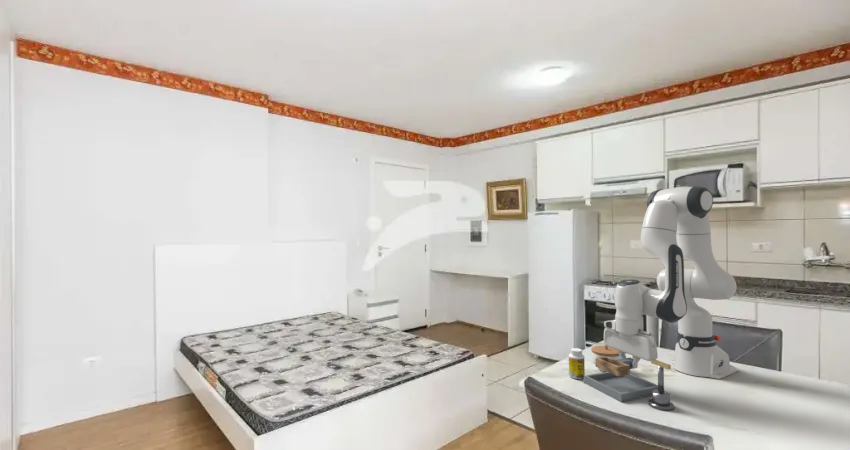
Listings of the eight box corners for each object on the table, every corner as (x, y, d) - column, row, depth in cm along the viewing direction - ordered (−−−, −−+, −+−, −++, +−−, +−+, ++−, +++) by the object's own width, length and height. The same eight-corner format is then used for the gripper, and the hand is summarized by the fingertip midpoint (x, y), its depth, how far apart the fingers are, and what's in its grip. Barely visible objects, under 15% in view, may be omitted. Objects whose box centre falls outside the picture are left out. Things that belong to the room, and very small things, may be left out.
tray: (620, 375, 152) (620, 369, 152) (660, 393, 136) (660, 386, 136) (583, 382, 147) (583, 375, 146) (621, 402, 131) (621, 394, 131)
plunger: (643, 402, 130) (642, 360, 130) (659, 399, 132) (659, 357, 132) (662, 412, 123) (662, 367, 123) (679, 408, 126) (679, 364, 125)
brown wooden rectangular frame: (644, 371, 138) (644, 363, 138) (617, 376, 134) (617, 367, 134) (621, 362, 148) (621, 354, 148) (595, 366, 144) (595, 358, 144)
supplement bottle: (578, 380, 148) (578, 352, 148) (565, 376, 153) (565, 349, 153) (587, 377, 151) (587, 350, 151) (575, 373, 156) (574, 346, 156)
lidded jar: (623, 367, 161) (622, 343, 161) (619, 376, 152) (619, 351, 152) (594, 362, 167) (594, 339, 167) (589, 371, 158) (588, 346, 158)
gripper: (662, 332, 134) (662, 374, 134) (613, 319, 153) (614, 356, 153) (647, 334, 132) (648, 377, 132) (600, 321, 151) (600, 358, 151)
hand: (629, 366), depth 143 cm, fingers closed on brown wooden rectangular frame, 2 cm apart
